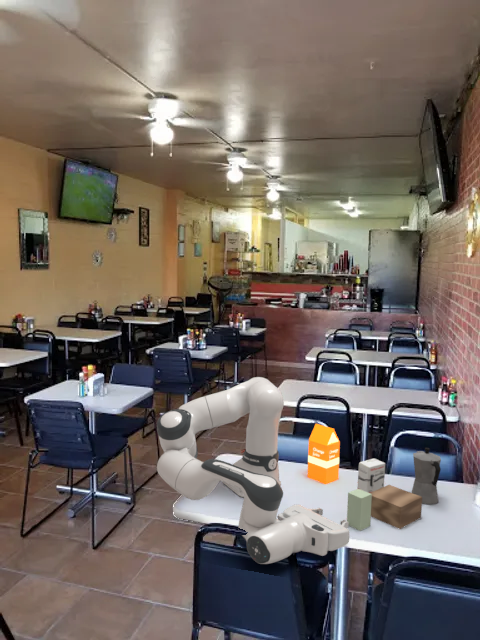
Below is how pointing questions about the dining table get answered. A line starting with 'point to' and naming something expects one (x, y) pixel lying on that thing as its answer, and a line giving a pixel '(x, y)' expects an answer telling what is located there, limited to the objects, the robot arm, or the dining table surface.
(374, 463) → the ink box
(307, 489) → the dining table surface
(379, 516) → the walnut block
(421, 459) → the coffeepot
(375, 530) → the dining table surface
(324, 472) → the orange juice
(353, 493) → the sage block
